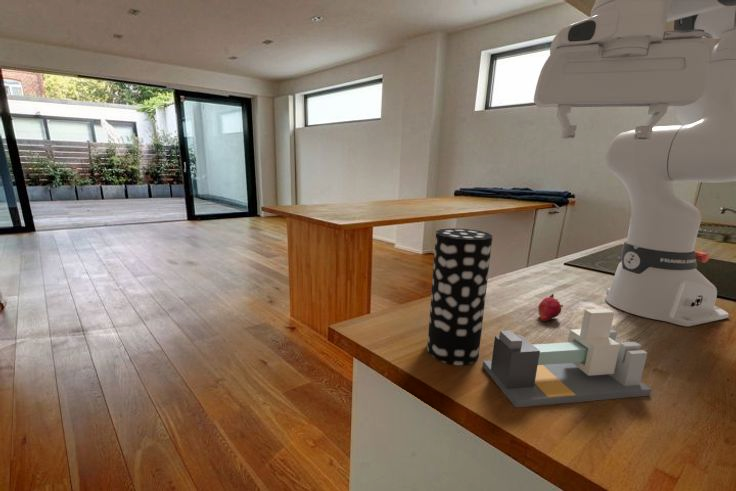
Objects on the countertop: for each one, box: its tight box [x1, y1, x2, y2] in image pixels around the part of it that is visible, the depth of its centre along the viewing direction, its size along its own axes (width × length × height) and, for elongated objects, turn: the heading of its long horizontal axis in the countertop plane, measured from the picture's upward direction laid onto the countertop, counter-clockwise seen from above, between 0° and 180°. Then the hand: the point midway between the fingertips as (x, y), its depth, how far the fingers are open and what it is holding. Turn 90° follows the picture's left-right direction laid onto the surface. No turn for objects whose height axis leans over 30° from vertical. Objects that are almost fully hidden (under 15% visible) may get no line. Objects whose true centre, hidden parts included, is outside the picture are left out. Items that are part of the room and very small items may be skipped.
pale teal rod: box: [533, 341, 588, 365], centre depth 48 cm, size 16×2×2 cm, turn 99°
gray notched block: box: [608, 328, 648, 386], centre depth 50 cm, size 2×7×6 cm, turn 9°
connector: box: [491, 329, 540, 389], centre depth 47 cm, size 4×4×7 cm
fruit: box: [538, 293, 564, 322], centre depth 69 cm, size 4×6×5 cm
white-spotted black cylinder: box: [427, 227, 493, 366], centre depth 54 cm, size 8×8×20 cm
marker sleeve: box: [567, 308, 620, 376], centre depth 48 cm, size 4×5×9 cm
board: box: [482, 359, 652, 408], centre depth 49 cm, size 20×9×1 cm, turn 99°
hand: (603, 138), depth 50 cm, fingers open, 8 cm apart
